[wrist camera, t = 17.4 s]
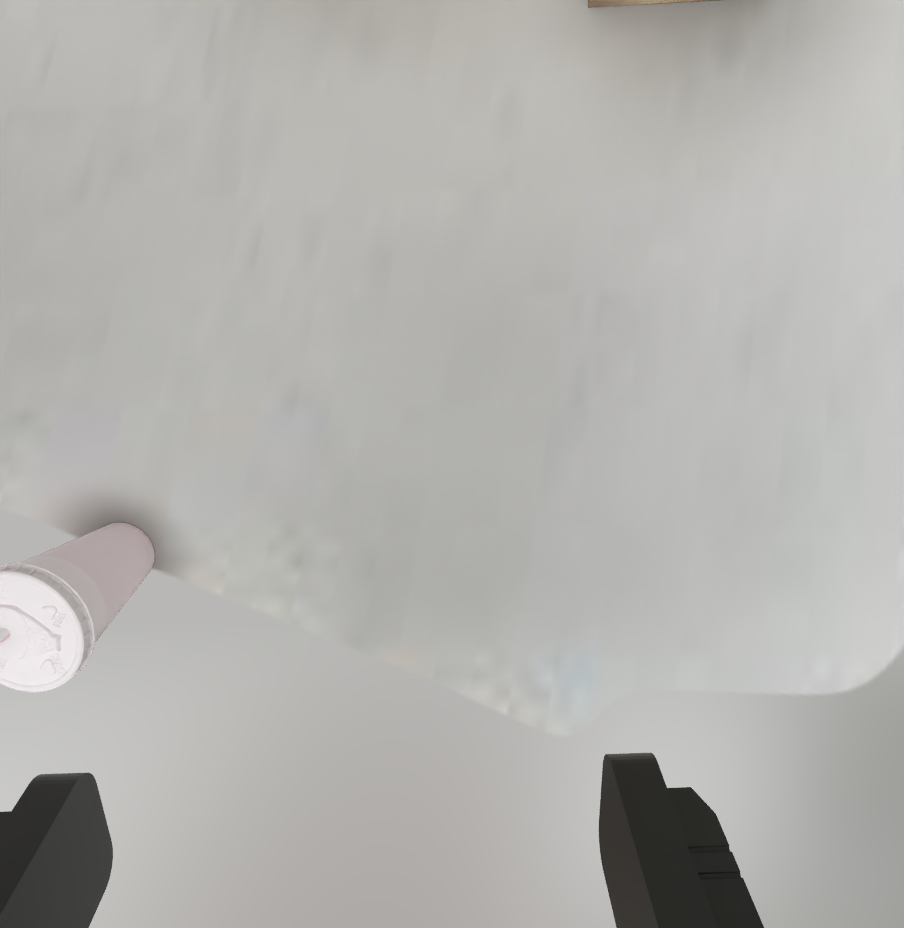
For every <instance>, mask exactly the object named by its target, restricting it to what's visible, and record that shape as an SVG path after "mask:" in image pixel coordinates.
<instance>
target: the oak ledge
mask: <svg viewBox="0 0 904 928" xmlns="http://www.w3.org/2000/svg"><path fill="white" fill-rule="evenodd" d="M694 1H713V0H588V7H600V6H619V5H638V4H656V3H675V2H694Z"/></svg>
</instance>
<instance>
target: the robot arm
mask: <svg viewBox="0 0 904 928" xmlns="http://www.w3.org/2000/svg"><path fill="white" fill-rule="evenodd" d="M600 802H601V803H600V816H599V843H600V853H601V860H602V866H603V871H604V875H605V880H606V884H607V888H608V892H609V897H610V901H611V905H612V909H613V913H614V918H615V922H616V927H617V928H764V927H763V924H762V922H761V920H760V917H759V915H758V913H757V910H756V908H755V905H754V903H753V901H752V899H751V896H750V894H749V891H748V889H747V887H746V884H745V882H744V880H743V878H741V876H740V870H739V868H738V865H737V863H736V861H735V858H734V856H733V853H732V852H730V850H729V844H728V842H727V840H726V837H725V835H724V832H723V830H722V828H721V825H720V823H719V821H718V818H717V816H716V814H715V813H714V812H713V810H711V808H710V807H709V806H708V805H707V804H706V803H705V802H704V801H703V800H702V799H701V798H700V797H699V796H698V794H697V793H696V792H695V791H694V790H693V789H692V788H691V787H686V788H667V787H666V785H665V782H664V779H663V776H662V774H661V771H660V768H659V765H658V762H657V760H656V758H655V756H654V755H653V754H652V753H631V754H606V755H605V756H604V760H603V771H602V786H601V801H600ZM112 859H113V848H112V842H111V838H110V834H109V830H108V826H107V822H106V818H105V814H104V811H103V807H102V803H101V799H100V795H99V791H98V787H97V783H96V781H95V778H94V776H93V775H92V774H90V773H68V774H41V775H38V776H37V777H35V778H34V779H33V780H32V781H31V783H30V784H29V785H28V787H27V788H26V790H25V792H24V793H23V795H22V796H21V798H20V799H19V801H18V802H17V804H16V806H15V807H14V809H13V810H12V812H0V928H88V927H89V925H90V923H91V921H92V918H93V916H94V914H95V912H96V910H97V907H98V905H99V903H100V901H101V898H102V896H103V894H104V892H105V890H106V887H107V884H108V881H109V877H110V873H111V868H112Z"/></svg>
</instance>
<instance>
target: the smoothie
mask: <svg viewBox="0 0 904 928" xmlns="http://www.w3.org/2000/svg"><path fill="white" fill-rule="evenodd" d="M154 560H155V553H154V549H153V546H152V543H151V541H150V540H149V538H148V537H147V536H146V535H145V534H144V533H143V532H142V531H141V530H140V529H138V528H137V527H135V526H133V525H130V524H127V523H112V524H109V525H107V526H104V527H102V528H100V529H97V530H95V531H93V532H90V533H88V534H86V535H84V536H81V537H79V538H77V539H74V540H72V541H70V542H67V543H65V544H63V545H61V546H58V547H56V548H54V549H52V550H49V551H47V552H44V553H42V554H40V555H37V556H35V557H33V558H30V559H28V560H25V561H23V562H21V563H10V564H4V565H0V684H2V685H4V686H6V687H9V688H12V689H15V690H19V691H25V692H43V691H48V690H52V689H55V688H57V687H59V686H61V685H63V684H64V683H66V682H67V681H68V680H69V679H70V678H71V677H73V676H75V675H76V674H77V673H78V672H79V671H81V670H82V669H83V668H84V667H85V666H86V664H87V662H88V660H89V659H90V657H91V655H92V653H93V648H94V643H95V642H96V641H97V640H98V638H99V637H100V636H101V634H102V633H103V631H104V630H105V629H106V628H107V626H108V625H109V624H110V622H111V621H112V620H113V619H114V617H115V616H116V615H117V613H118V612H119V611H120V609H121V608H122V607H123V606H124V604H125V603H126V602H127V600H128V599H129V598H130V597H131V595H132V594H133V593H134V591H135V590H136V589H137V587H138V586H139V585H140V584H141V582H142V581H143V579H144V578H145V577H146V576H147V574H148V573H149V572H150V571H151V569H152V567H153V564H154Z"/></svg>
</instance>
